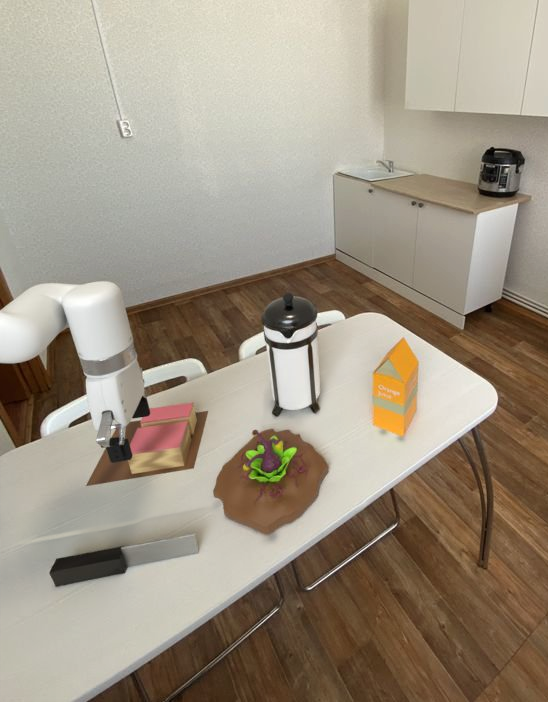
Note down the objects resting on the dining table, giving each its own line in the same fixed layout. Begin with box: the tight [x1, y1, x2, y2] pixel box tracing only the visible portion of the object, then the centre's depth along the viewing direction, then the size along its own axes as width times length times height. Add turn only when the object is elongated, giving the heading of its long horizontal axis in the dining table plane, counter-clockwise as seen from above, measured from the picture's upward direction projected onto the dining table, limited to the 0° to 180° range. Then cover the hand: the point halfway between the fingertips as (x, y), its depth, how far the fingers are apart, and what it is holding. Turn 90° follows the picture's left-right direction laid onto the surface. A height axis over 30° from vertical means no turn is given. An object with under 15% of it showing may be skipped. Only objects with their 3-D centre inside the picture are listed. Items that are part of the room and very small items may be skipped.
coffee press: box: [260, 292, 321, 418], centre depth 93 cm, size 17×16×30 cm
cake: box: [85, 410, 209, 487], centre depth 83 cm, size 20×16×6 cm
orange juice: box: [372, 336, 420, 437], centre depth 87 cm, size 8×9×20 cm
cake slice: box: [140, 402, 197, 435], centre depth 86 cm, size 10×4×6 cm, turn 100°
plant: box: [212, 428, 329, 536], centre depth 74 cm, size 20×20×11 cm
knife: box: [48, 532, 200, 588], centre depth 61 cm, size 21×2×4 cm, turn 100°
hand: (132, 436), depth 68 cm, fingers open, 9 cm apart
